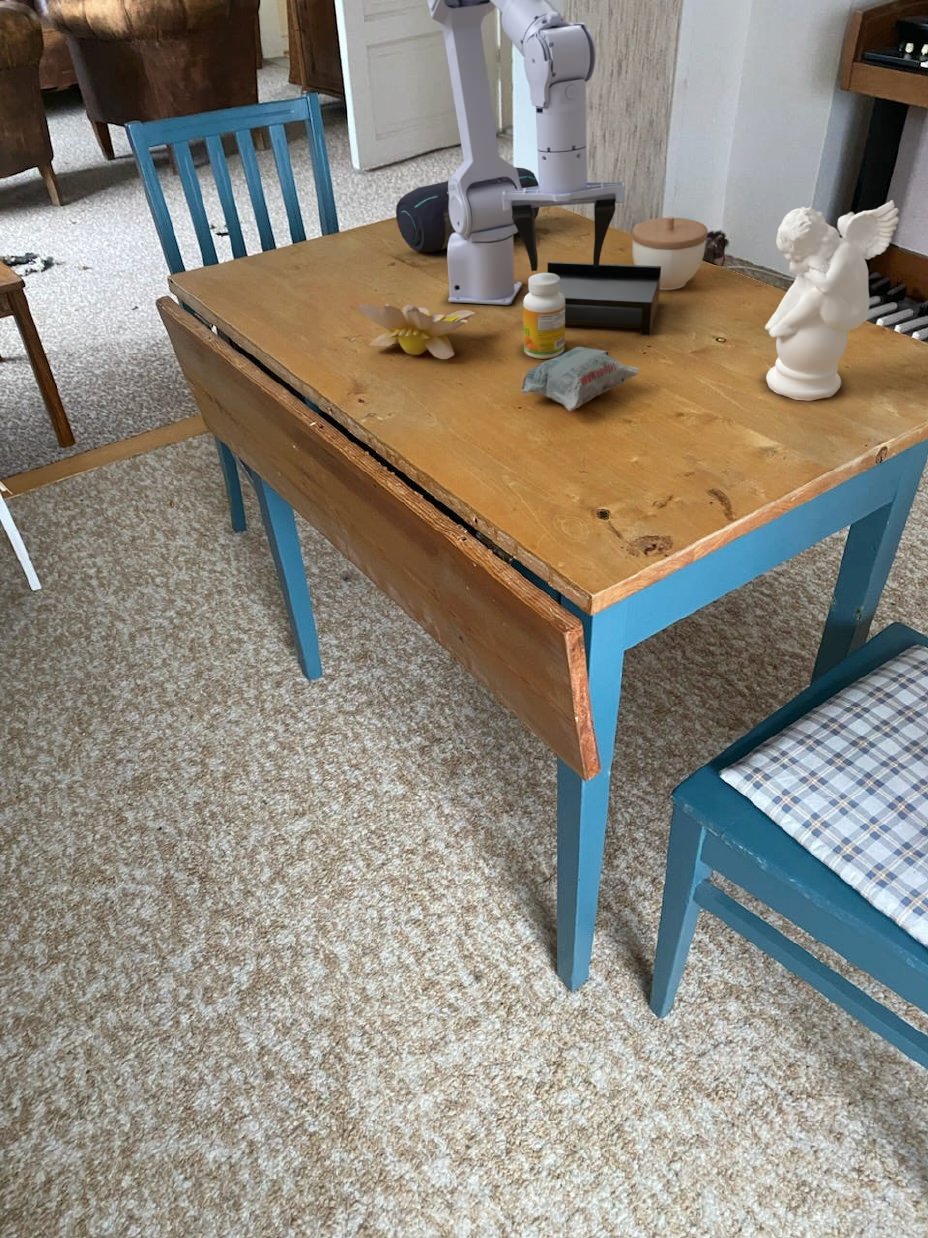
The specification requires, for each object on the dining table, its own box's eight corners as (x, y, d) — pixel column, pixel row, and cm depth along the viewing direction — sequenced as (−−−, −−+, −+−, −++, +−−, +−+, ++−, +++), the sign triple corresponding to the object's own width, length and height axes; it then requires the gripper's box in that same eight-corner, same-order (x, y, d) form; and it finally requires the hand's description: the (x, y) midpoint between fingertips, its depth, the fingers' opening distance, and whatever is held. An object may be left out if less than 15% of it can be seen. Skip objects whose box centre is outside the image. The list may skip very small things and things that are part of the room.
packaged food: (637, 390, 116) (639, 351, 113) (570, 425, 111) (570, 385, 108) (584, 370, 122) (585, 332, 118) (518, 402, 116) (517, 364, 113)
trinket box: (698, 268, 146) (705, 204, 140) (705, 295, 138) (712, 228, 132) (628, 269, 147) (631, 206, 141) (630, 296, 139) (634, 230, 133)
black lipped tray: (533, 328, 132) (533, 287, 129) (548, 300, 140) (548, 261, 136) (649, 334, 128) (652, 293, 125) (658, 305, 136) (661, 265, 132)
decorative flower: (499, 325, 129) (483, 258, 122) (462, 377, 123) (443, 311, 116) (406, 317, 136) (386, 253, 128) (367, 366, 130) (343, 302, 123)
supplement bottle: (521, 344, 128) (520, 272, 122) (561, 340, 129) (561, 268, 122) (526, 361, 124) (525, 287, 118) (567, 357, 124) (568, 284, 118)
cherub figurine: (745, 389, 115) (773, 198, 101) (781, 350, 123) (812, 167, 109) (846, 411, 109) (891, 213, 95) (878, 369, 117) (924, 179, 103)
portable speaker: (420, 264, 154) (414, 200, 147) (393, 247, 161) (387, 185, 154) (551, 231, 162) (551, 169, 156) (520, 217, 169) (519, 156, 163)
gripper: (497, 158, 109) (504, 279, 117) (625, 148, 107) (624, 272, 115) (502, 147, 114) (509, 263, 122) (624, 137, 112) (623, 256, 120)
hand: (565, 266), depth 119 cm, fingers open, 7 cm apart
